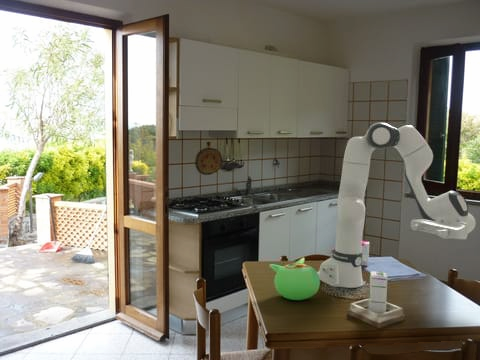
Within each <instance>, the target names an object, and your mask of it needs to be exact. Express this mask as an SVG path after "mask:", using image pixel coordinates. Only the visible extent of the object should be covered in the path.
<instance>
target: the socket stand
mask: <svg viewBox="0 0 480 360" xmlns="http://www.w3.org/2000/svg"><path fill="white" fill-rule="evenodd" d="M368 307H369V297H368V298H365V299H362V300H359V301H354V302H352V303H349V309H347V315H349V316H351V317H353V318H355V319H357V320H360V321H361V322H364V323H366V324H369V325H371V326H373V327H375V328H378V329H381V328H384V327H387V326H390V325H393V324H397V323H398V322H401V321H403V320H405V317H406V316H405V315H404V313H403V312H404V308H403V307H400V306H398V305H395V304H393V303H390V302H388V301H386V312H385V313H382V314H376V313H374V312H372V311H369V310H368Z"/></svg>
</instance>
